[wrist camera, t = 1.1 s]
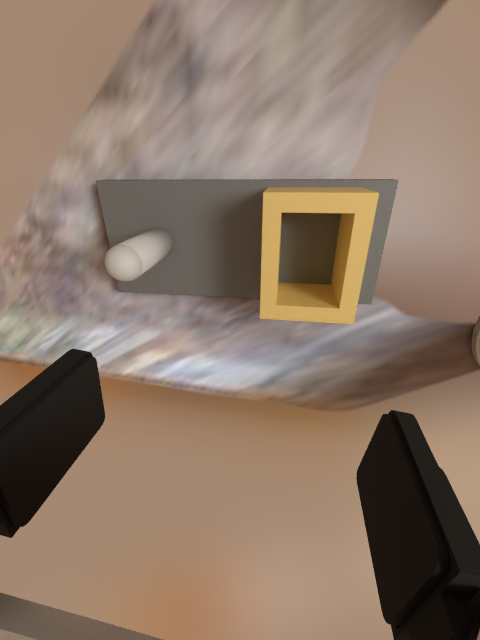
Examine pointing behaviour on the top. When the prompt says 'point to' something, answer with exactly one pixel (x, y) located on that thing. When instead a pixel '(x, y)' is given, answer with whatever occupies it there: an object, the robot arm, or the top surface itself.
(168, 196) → the keeper board
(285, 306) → the tan hollow block
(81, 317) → the top surface
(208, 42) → the top surface
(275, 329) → the top surface
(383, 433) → the robot arm
